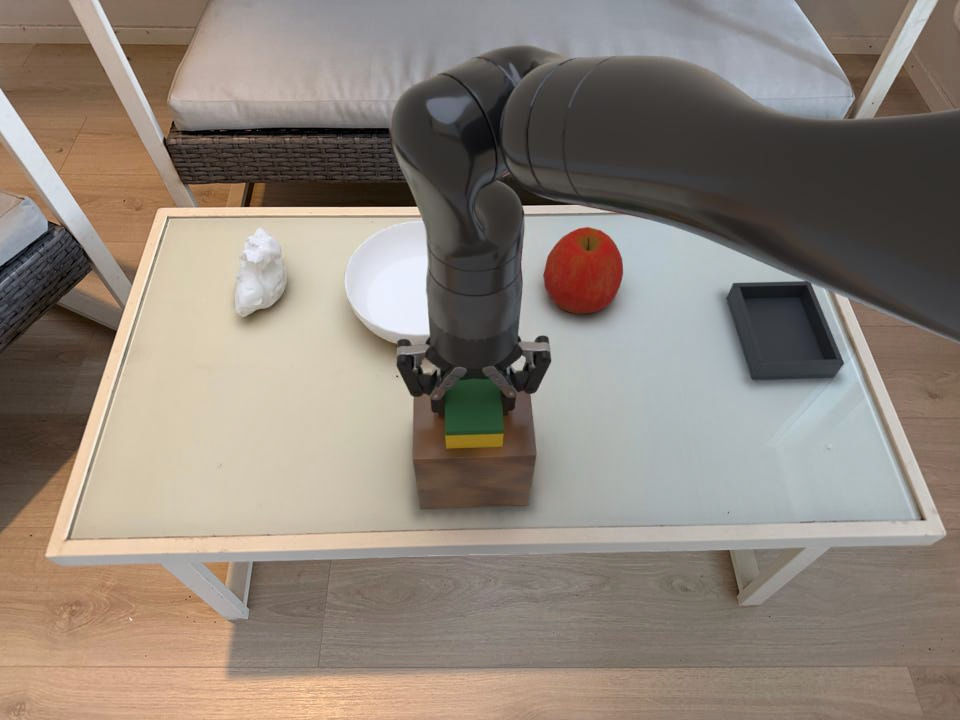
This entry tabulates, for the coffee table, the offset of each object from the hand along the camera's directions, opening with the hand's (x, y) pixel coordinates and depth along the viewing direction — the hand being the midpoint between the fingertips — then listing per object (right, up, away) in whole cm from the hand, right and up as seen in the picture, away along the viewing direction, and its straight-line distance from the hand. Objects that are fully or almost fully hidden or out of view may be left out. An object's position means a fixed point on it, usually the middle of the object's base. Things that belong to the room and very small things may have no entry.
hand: (473, 408), depth 69 cm
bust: (-28, +14, +25) cm, 40 cm away
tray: (+40, +8, +22) cm, 46 cm away
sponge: (0, 0, +1) cm, 1 cm away
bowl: (-7, +12, +24) cm, 28 cm away
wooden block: (0, -7, +11) cm, 13 cm away
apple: (+14, +14, +26) cm, 32 cm away
